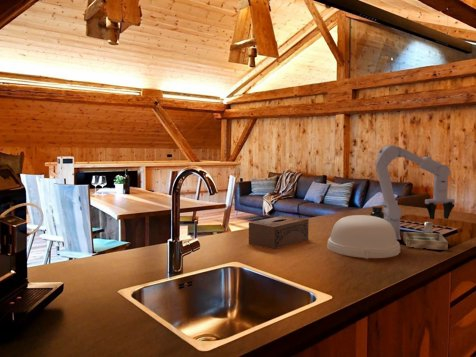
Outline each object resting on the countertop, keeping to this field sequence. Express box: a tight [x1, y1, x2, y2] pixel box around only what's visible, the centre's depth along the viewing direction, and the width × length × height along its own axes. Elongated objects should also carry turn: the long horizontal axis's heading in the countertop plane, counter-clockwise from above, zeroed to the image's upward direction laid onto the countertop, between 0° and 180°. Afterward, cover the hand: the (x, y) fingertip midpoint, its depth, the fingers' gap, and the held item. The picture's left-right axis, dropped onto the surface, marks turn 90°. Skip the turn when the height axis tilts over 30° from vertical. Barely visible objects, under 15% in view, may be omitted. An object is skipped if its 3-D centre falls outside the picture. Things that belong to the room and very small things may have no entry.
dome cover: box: [326, 214, 401, 260], centre depth 175 cm, size 32×30×14 cm
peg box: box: [402, 231, 449, 251], centre depth 182 cm, size 16×16×4 cm
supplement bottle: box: [369, 205, 385, 219], centre depth 214 cm, size 7×7×12 cm
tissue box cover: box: [248, 215, 310, 250], centre depth 187 cm, size 26×14×10 cm, turn 136°
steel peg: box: [423, 221, 434, 234], centre depth 197 cm, size 4×4×7 cm
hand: (439, 218), depth 192 cm, fingers open, 7 cm apart
